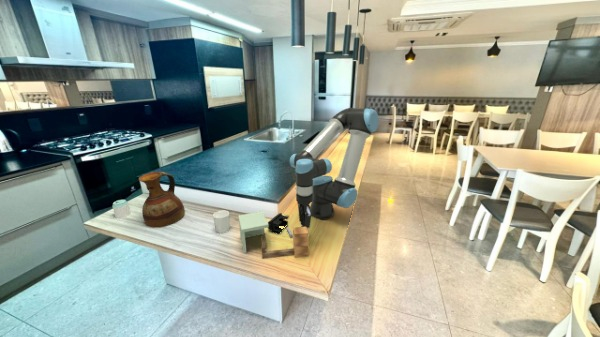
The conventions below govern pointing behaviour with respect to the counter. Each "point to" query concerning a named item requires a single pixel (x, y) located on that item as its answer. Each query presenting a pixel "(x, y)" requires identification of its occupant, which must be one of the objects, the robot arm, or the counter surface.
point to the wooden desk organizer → (298, 245)
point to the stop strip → (289, 232)
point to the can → (121, 209)
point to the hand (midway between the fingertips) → (304, 237)
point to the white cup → (222, 221)
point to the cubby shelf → (251, 226)
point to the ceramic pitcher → (161, 201)
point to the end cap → (277, 223)
